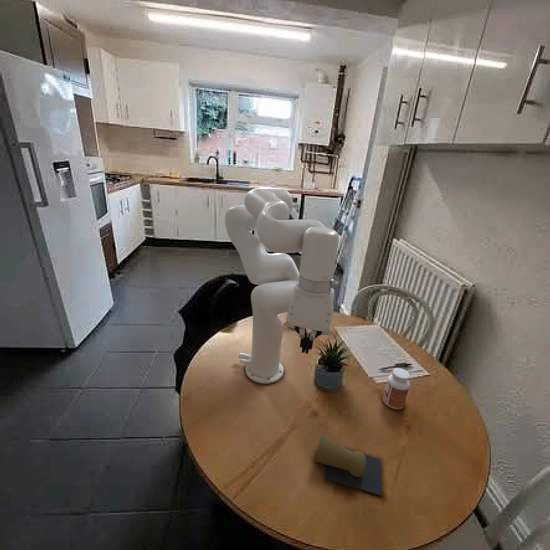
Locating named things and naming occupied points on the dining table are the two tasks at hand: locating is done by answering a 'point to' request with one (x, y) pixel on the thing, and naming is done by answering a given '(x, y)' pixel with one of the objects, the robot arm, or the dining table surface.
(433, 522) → the dining table surface
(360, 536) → the dining table surface
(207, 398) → the dining table surface
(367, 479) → the mat
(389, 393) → the pill bottle
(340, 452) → the olive green waisted cylinder
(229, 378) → the dining table surface
